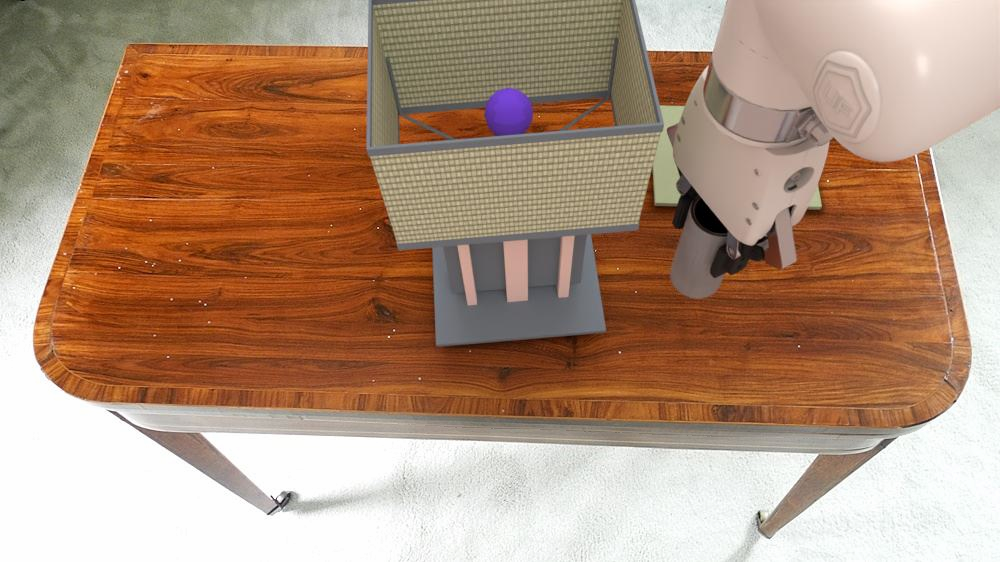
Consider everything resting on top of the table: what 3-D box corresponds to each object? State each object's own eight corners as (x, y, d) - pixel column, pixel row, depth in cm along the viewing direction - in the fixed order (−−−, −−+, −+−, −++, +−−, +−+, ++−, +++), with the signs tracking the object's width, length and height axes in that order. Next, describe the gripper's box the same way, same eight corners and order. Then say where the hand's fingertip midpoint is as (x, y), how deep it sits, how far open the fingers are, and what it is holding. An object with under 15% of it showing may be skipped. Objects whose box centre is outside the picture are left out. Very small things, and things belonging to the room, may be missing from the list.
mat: (802, 111, 86) (804, 107, 86) (820, 209, 80) (822, 206, 79) (648, 108, 87) (649, 104, 87) (654, 206, 81) (655, 202, 80)
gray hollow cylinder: (664, 291, 64) (684, 228, 55) (675, 250, 66) (696, 182, 57) (715, 305, 63) (745, 242, 54) (725, 262, 66) (754, 195, 57)
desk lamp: (430, 355, 73) (366, 153, 44) (426, 235, 80) (368, -8, 51) (611, 339, 73) (665, 128, 44) (592, 222, 80) (628, -29, 51)
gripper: (916, 157, 41) (810, 305, 57) (736, -18, 49) (687, 155, 65) (808, 211, 40) (731, 346, 56) (640, 22, 47) (614, 189, 63)
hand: (708, 242), depth 60 cm, fingers closed on gray hollow cylinder, 4 cm apart
